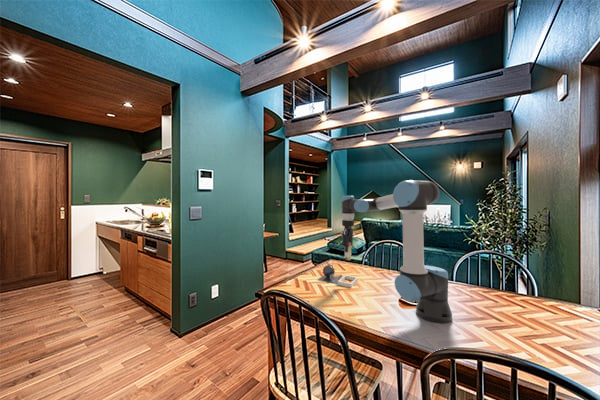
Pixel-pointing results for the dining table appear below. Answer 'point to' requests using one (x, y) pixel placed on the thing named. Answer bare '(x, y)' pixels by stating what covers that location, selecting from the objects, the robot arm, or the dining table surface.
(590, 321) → the dining table surface
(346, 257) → the lock pin
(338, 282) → the tray
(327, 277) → the pulley block
